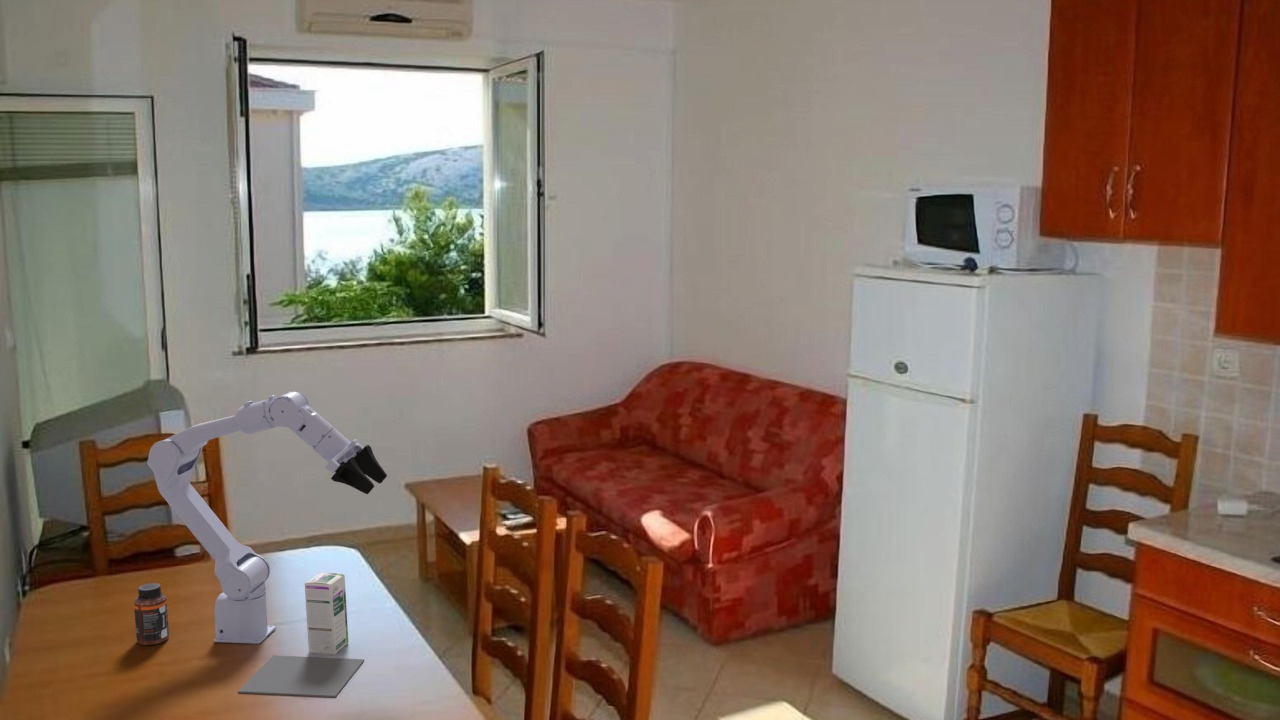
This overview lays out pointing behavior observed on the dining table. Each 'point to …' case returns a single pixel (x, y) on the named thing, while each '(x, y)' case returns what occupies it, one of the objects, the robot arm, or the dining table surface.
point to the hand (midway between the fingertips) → (377, 485)
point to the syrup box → (326, 613)
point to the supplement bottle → (151, 615)
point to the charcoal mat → (302, 676)
